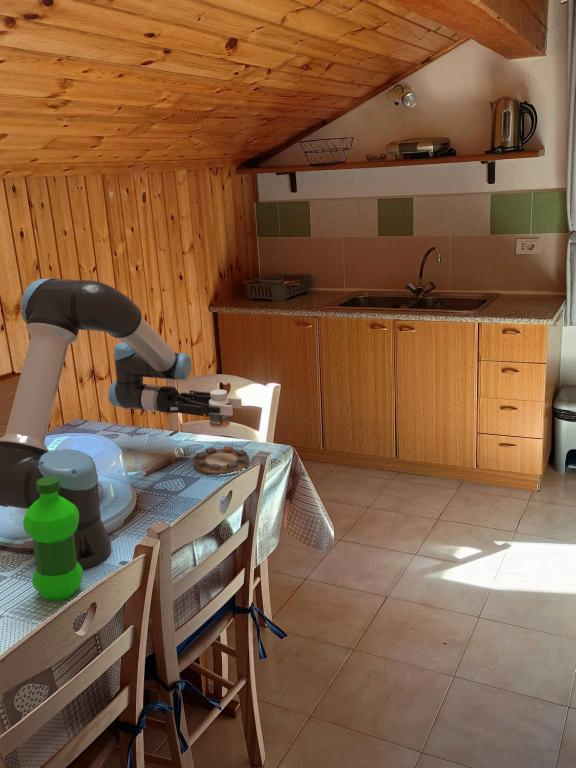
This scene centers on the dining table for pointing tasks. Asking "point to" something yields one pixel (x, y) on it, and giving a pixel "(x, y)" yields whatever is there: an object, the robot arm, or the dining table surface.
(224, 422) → the pill bottle
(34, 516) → the plastic bottle
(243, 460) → the sprocket plate
